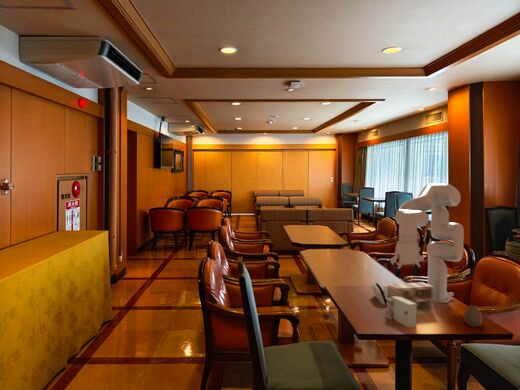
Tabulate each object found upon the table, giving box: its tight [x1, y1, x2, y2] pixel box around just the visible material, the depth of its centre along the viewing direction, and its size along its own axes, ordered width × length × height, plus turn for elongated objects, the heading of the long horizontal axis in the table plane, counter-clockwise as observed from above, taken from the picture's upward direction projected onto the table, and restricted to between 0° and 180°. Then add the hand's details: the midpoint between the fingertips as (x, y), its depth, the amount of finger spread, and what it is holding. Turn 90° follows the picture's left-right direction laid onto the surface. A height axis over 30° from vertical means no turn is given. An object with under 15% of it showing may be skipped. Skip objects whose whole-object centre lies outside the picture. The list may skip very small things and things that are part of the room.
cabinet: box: [385, 281, 434, 320], centre depth 183 cm, size 26×11×13 cm, turn 106°
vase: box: [463, 304, 483, 328], centre depth 169 cm, size 7×7×9 cm
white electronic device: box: [371, 282, 388, 306], centre depth 204 cm, size 17×5×10 cm, turn 177°
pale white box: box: [391, 296, 417, 328], centre depth 171 cm, size 5×12×10 cm, turn 17°
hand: (407, 276), depth 174 cm, fingers open, 9 cm apart
